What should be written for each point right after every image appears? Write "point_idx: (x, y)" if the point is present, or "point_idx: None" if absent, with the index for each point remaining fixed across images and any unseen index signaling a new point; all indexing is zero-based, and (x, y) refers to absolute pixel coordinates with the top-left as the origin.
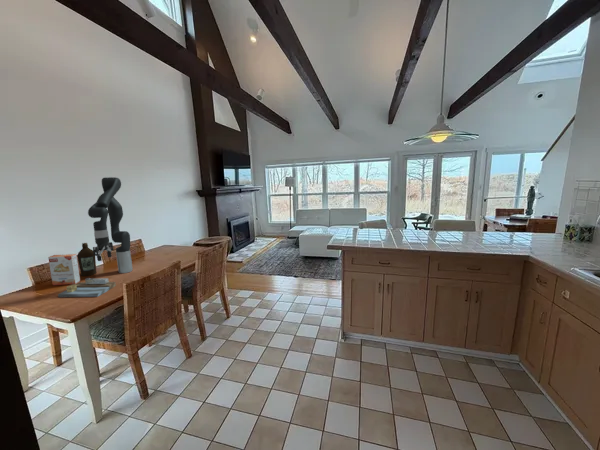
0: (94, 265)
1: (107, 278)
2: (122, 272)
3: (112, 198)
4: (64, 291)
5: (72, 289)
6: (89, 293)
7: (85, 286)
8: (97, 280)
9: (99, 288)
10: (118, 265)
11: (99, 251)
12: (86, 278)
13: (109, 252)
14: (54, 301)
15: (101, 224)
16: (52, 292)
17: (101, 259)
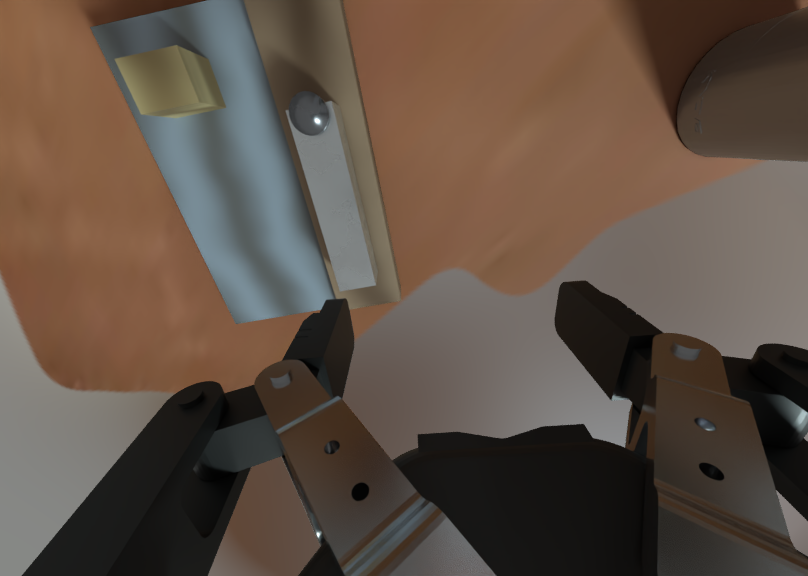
0: None
1: (368, 285)
2: (683, 113)
3: None
4: (151, 21)
5: (171, 114)
6: (217, 276)
7: (286, 131)
8: (322, 231)
9: (299, 268)
10: (780, 53)
11: (305, 508)
12: (303, 102)
13: (611, 382)
14: (66, 93)
15: None
16: None
17: (348, 358)
